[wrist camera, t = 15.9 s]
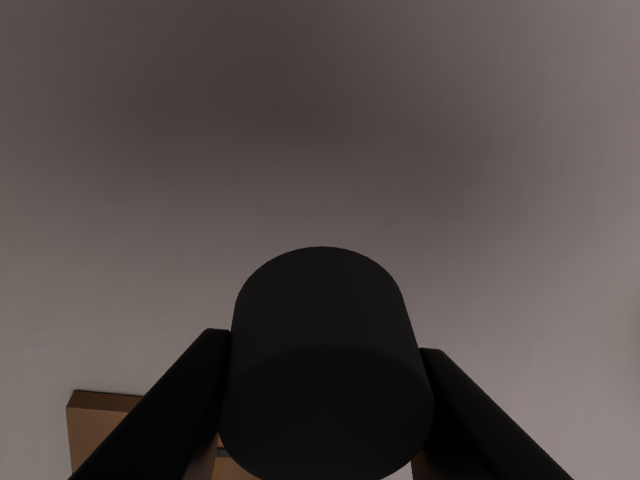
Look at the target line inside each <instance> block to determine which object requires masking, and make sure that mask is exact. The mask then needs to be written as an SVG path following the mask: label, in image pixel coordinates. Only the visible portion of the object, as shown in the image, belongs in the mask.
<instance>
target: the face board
mask: <svg viewBox="0 0 640 480" xmlns="http://www.w3.org/2000/svg"><path fill="white" fill-rule="evenodd" d="M142 398H143V397H137V396H126V395H115V394H104V393H93V392H82V391H74V392H73V394H72V396H71V398H70V400H69V402H68V404H67V406H66V415H67V426H68V436H69V446H70V457H71V467H72V474H73V473H74V472H75V471H76V470H77V469H78V468H79V466H80V465H81V464H82V463H83V462H84V461H85V460H86V459H87V458H88V457H89V456H90V454H91V453H92V452H93V451H94V450H95V449H96V448H97V447H98V446H99V445H100V444H101V442H102V441H103V440H104V439H105V438H106V437H107V436H108V435H109V434H110V433H111V432H112V430H113V429H114V428H115V427H116V426H117V425H118V424H119V423H120V422H121V421H122V420H123V418H124V417H125V416H126V415H127V414H128V413H129V412H130V411H131V410H132V409H133V408H134V406H135V405H136V404H137V403H138V402H139V401H140V400H141V399H142ZM211 480H261V479H259V478H257V477H255V476H253V475H252V474H250V473H248V472H247V471H245V470H244V469H243V468H242V467H240V466H239V465H238V464H237V463H236V462H235V461H234V460H233V459H232V458H231V457H230V455H229V454H228V453H227V451H226V449H225V448H224V446H223V444H222V442H221V439H220V437H219V439H218V446H217V453H216V459H215V465H214V469H213V474H212V478H211ZM380 480H381V479H380Z"/></svg>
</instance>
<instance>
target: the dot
mask: <svg viewBox="0 0 640 480" xmlns="http://www.w3.org/2000/svg"><path fill="white" fill-rule="evenodd" d="M434 419H435V400H434V397H433V393H432V390H431V387H430V383H429V380H428V377H427V374H426V371H425V367H424V364H423V361H422V358H421V355H420V351H419V348H418V345H417V342H416V339H415V335H414V332H413V329H412V326H411V323H410V319H409V316H408V313H407V310H406V307H405V303H404V300H403V297H402V294H401V292H400V289H399V287H398V285H397V284H396V282H395V281H394V279H393V278H392V276H391V275H390V274H389V273H388V272H387V271H386V270H385V269H384V268H383V267H381V266H380V265H379V264H378V263H376V262H374V261H373V260H371V259H369V258H368V257H366V256H364V255H361V254H359V253H357V252H354V251H350V250H347V249H342V248H336V247H324V246H320V247H307V248H302V249H297V250H293V251H290V252H287V253H284V254H282V255H279V256H277V257H275V258H273V259H272V260H270V261H268V262H266V263H265V264H264V265H263V266H261V267H260V268H259V269H257V270H256V271H255V272H254V273H253V274H252V275H251V276H250V277H249V278H248V280H247V281H246V282H245V284H244V285H243V287H242V289H241V290H240V292H239V294H238V297H237V300H236V303H235V308H234V314H233V320H232V326H231V339H230V345H229V351H228V357H227V364H226V370H225V376H224V382H223V388H222V394H221V399H220V407H219V418H218V434H219V437H220V439H221V442H222V444H223V446H224V448H225V449H226V451H227V453H228V454H229V455H230V457H231V458H232V459H233V460H234V461H235V462H236V463H237V464H238V465H239V466H240V467H242V468H243V469H244V470H245V471H247V472H248V473H250V474H252V475H253V476H255V477H257V478H259V479H261V480H380V479H383V478H385V477H387V476H389V475H391V474H393V473H394V472H396V471H397V470H399V469H400V468H402V467H403V466H405V465H406V464H407V463H408V462H410V461H411V460H412V459H413V458H414V457H415V456H416V455H417V454H418V453H419V452H420V451H421V449H422V448H423V446H424V445H425V444H426V442H427V439H428V437H429V435H430V432H431V429H432V427H433V424H434Z"/></svg>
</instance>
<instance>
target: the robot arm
mask: <svg viewBox="0 0 640 480" xmlns="http://www.w3.org/2000/svg"><path fill="white" fill-rule="evenodd" d="M230 339H231V332H230V331H229V330H224V329H213V328H208V329H206V330H204V331H203V332H202V333H201V334H200V336H199V337H198V338H197V339H196V340H195V341H194V342H193V343H192V344H191V345H190V346H189V348H188V349H187V350H186V351H185V352H184V353H183V354H182V355H181V356H180V357H179V358H178V360H177V361H176V362H175V363H174V364H173V365H172V366H171V367H170V368H169V369H168V370H167V372H166V373H165V374H164V375H163V376H162V377H161V378H160V379H159V380H158V381H157V382H156V384H155V385H154V386H153V387H152V388H151V389H150V390H149V391H148V392H147V393H146V394H145V396H144V397H143V398H142V399H141V400H140V401H139V402H138V403H137V404H136V405H135V406H134V408H133V409H132V410H131V411H130V412H129V413H128V414H127V415H126V416H125V417H124V418H123V420H122V421H121V422H120V423H119V424H118V425H117V426H116V427H115V428H114V429H113V430H112V432H111V433H110V434H109V435H108V436H107V437H106V438H105V439H104V440H103V441H102V442H101V444H100V445H99V446H98V447H97V448H96V449H95V450H94V451H93V452H92V453H91V454H90V456H89V457H88V458H87V459H86V460H85V461H84V462H83V463H82V464H81V465H80V466H79V468H78V469H77V470H76V471H75V472H74V473H73V474H72V475H71V476H70V477H69V478H68V480H211V478H212V474H213V469H214V465H215V459H216V453H217V446H218V439H219V434H218V418H219V407H220V399H221V394H222V388H223V382H224V376H225V370H226V364H227V357H228V351H229V345H230ZM419 351H420V355H421V358H422V361H423V364H424V367H425V371H426V374H427V377H428V380H429V383H430V387H431V390H432V393H433V397H434V400H435V419H434V424H433V427H432V429H431V432H430V435H429V437H428V439H427V442H426V444H425V445H424V446H423V448H422V449H421V451H420V452H419V453H418V454H417V455H416V456H415V457H414V458H413V459H412V460H411V467H412V475H413V480H574V479H573V478H572V477H571V476H570V475H569V474H568V473H567V472H565V471H564V470H563V469H562V468H561V467H560V466H559V465H558V464H557V463H556V462H555V461H554V460H553V459H552V458H551V457H550V456H549V455H548V454H547V453H546V452H545V451H544V450H543V449H542V448H541V447H540V446H539V445H538V444H537V443H536V442H535V441H534V440H533V439H532V438H531V437H530V436H529V435H528V434H527V433H526V432H525V431H524V430H523V429H522V428H521V427H520V426H519V425H518V424H517V423H516V422H514V421H513V420H512V419H511V418H510V417H509V416H508V415H507V414H506V413H505V412H504V411H503V410H502V409H501V408H500V407H499V406H498V405H497V404H496V403H495V402H494V401H493V400H492V399H491V398H490V397H489V396H488V395H487V394H486V393H485V392H484V391H483V390H482V389H481V388H480V387H479V386H478V385H477V384H476V383H475V382H474V381H473V380H472V379H471V378H470V377H469V376H468V375H467V374H466V373H465V372H464V371H462V370H461V369H460V368H459V367H458V366H457V365H456V364H455V363H454V362H453V361H452V360H451V359H450V358H449V357H448V356H447V355H446V354H445V353H444V352H443V351H441V350H439V349H431V348H419Z"/></svg>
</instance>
